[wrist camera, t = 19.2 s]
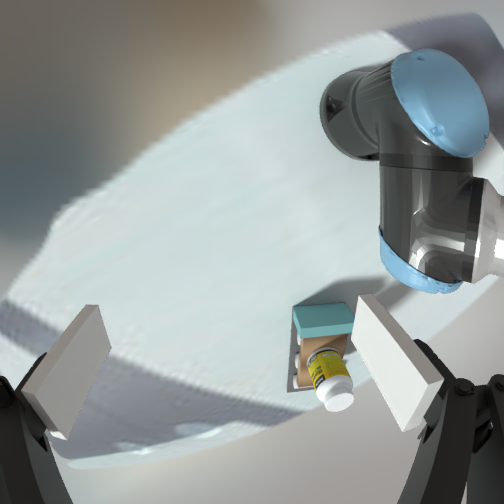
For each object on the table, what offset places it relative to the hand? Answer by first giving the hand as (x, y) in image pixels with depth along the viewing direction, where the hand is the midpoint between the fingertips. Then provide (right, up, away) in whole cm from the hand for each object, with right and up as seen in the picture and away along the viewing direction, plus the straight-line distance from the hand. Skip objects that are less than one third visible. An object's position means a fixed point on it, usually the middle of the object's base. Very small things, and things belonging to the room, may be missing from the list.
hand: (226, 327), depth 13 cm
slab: (+14, -16, +36) cm, 42 cm away
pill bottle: (+14, -16, +34) cm, 40 cm away
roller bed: (+14, -16, +40) cm, 45 cm away
